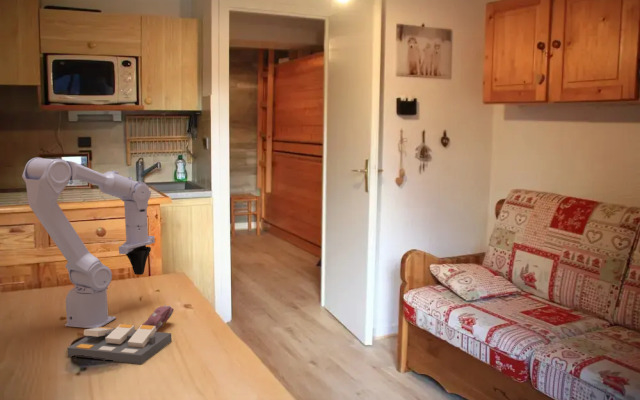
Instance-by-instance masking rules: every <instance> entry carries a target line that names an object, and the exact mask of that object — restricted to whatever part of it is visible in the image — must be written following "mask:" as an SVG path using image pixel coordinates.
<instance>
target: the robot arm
mask: <svg viewBox="0 0 640 400" xmlns="http://www.w3.org/2000/svg"><path fill="white" fill-rule="evenodd" d="M21 177H22V179H23V181H24V183H25V187H26V193H27V194H26V195H27V196H26V197H27V203H28V205H29V208H30V209H31V211H32V212H33V213H34V215H35V216H36V218H37V219H38V220H39V222H40V224H41V225H42V227H43V228H44V230H45V231H46V233H48V236H49V237H50V238H51V240H52V241H53V242H54V244H55V246H56V247H57V248H58V250H59V251H60V252H61V254H62V255H63V257H64V258H65V260H66V261H67V263H66V264H65V266H64V267H65V268H66V269H67V271H68V278H69V281H70V282H71V283H72V284H73V285H74V287H73V288H71V289H70V290H69V291H68V292H67V294H66V297H65V311H66V312H65V313H66V323H65V324H64V326H65V327H73V328H83V329H93V328H98V327H105V325H107V324H108V323H111V322H112V321H114V320H115V319H116V316H111V315H109V311H108V310H109V308H108V307H109V306H108V305H109V304H108V291H107V290H108V289H109V286H110V284H111V282H112V279H113V273H112V270H111V269H110V267H108V266H107V265H105V264H103V263H102V261H101V260H100V259H99V258H98V257H96V256H95V255H93V254H92V253H91V252H90V251H89V249H88V248H87V246H86V245H85V243H84V242H83V240H82V239H81V237H80V235H79V234H78V233H77V231H76V229H75V228H74V227H73V225H72V224H71V221H70V220H69V218H68V217H67V216H66V214H65V213H64V212H63V210H62V208H61V207H60V205H59V203H58V199H59V197H60V195H61V194H62V192H63V191H64V189H65V188H66V187H67V184H68V183H69V182H70V181H71V182H72V181H75V180H77V181H81V182H84V183H87V184H89V185H90V184H91V185H94V186H97V187H98V189H99V191H100V192H101V193H103V194H106V195H109V196H112V197H115V198H118V199H120V200H121V201H122V202H123V204H124V206H123V207H124V219H125V220H124V223H125V238H126V239H125V240H126V241H125V242H124V243H123V244H121V245H119V246H118V253H119V255H125V256H126V257H127V258H128V260H129V262H130V264H131V268H132V270H133V273H134V275H138V276H141V275H143V274H145V273H144V272H145V270H146V269H145V268H146V264H147V261H148V257H149V254H150V252H151V251H152V247H150V246H148V245H152V244H155V240H156V238H155V236H154V235H149V226H148V225H149V224H148V207H149V200H150V198H151V195H152V191H151V190H150V188H149V186H148V185H147V183H145V182H144V181H136V180H135V181H134V178H133V177H130V176H127V177H126V176H124V175H121V174H120V172H119V171H117V170H112V171H105V172H104V173H102V172H99V171H96V170H94V169H92V168H89V167H87V166H85V165H82V164H79V163H77V162H74V161H72V160H65V159H63V158H44V157H33V158H31V159H30V160H28V161H27V162H26V164H25V167H24V170H23V172H22V175H21Z"/></svg>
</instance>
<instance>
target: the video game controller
mask: <svg viewBox="0 0 640 400" xmlns="http://www.w3.org/2000/svg"><path fill="white" fill-rule="evenodd" d="M173 313H174V308H173V307H171V306H169V305H168V306H167V305H166V304H164V305H162V306H159V307H156V308H155V310H154V311H153V312H152V314H151V315H150V316H149V317H148V319H146V320H145V321H144V322H143V323H142V324H141V325H149V326H156V330H157V331H156V332H159V329H160V328H161V329H162V328H164V327H165V326H166V324H167V322H168V320H169V319H170V318H171V317H172V315H173Z"/></svg>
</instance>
